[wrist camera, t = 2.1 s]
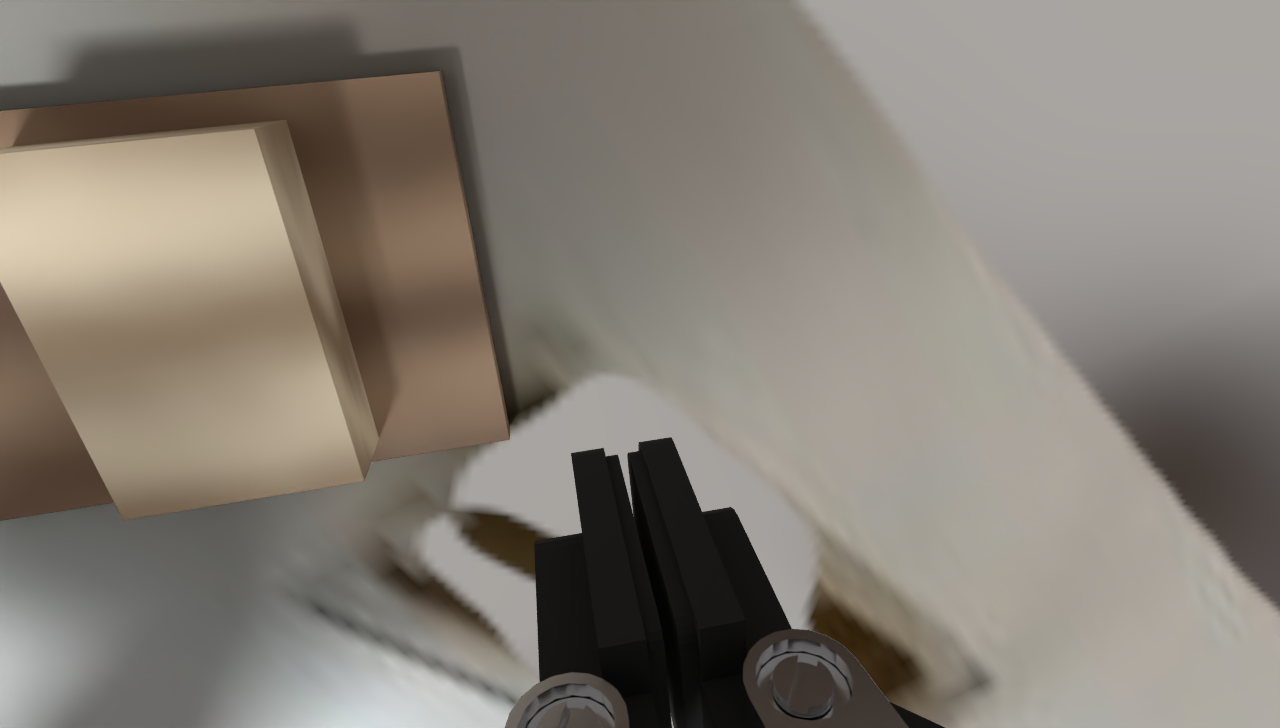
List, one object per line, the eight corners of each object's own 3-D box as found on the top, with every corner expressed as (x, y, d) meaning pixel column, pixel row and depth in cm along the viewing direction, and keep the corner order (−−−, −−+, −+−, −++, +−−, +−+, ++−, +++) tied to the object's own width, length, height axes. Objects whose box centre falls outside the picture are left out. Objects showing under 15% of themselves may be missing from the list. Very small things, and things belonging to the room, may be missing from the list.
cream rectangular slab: (379, 438, 27) (364, 481, 24) (163, 471, 26) (123, 520, 23) (285, 119, 21) (254, 128, 19) (12, 146, 20) (-63, 160, 18)
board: (509, 427, 29) (509, 532, 22) (-180, 535, 25) (-407, 693, 19) (441, 70, 22) (414, 76, 16) (-475, 153, 19) (-948, 200, 13)
